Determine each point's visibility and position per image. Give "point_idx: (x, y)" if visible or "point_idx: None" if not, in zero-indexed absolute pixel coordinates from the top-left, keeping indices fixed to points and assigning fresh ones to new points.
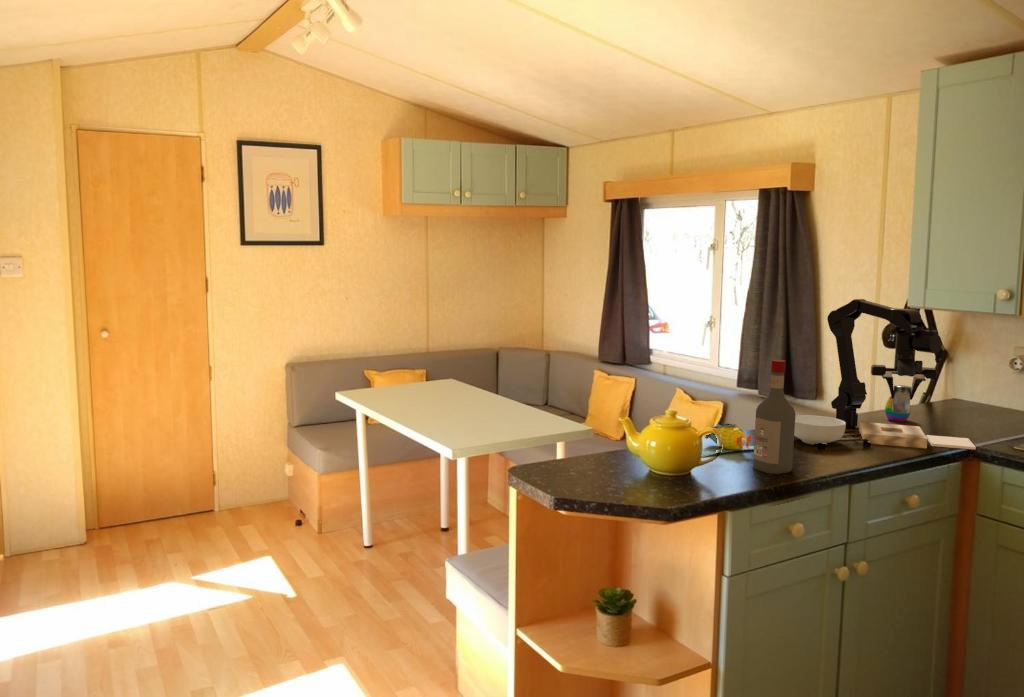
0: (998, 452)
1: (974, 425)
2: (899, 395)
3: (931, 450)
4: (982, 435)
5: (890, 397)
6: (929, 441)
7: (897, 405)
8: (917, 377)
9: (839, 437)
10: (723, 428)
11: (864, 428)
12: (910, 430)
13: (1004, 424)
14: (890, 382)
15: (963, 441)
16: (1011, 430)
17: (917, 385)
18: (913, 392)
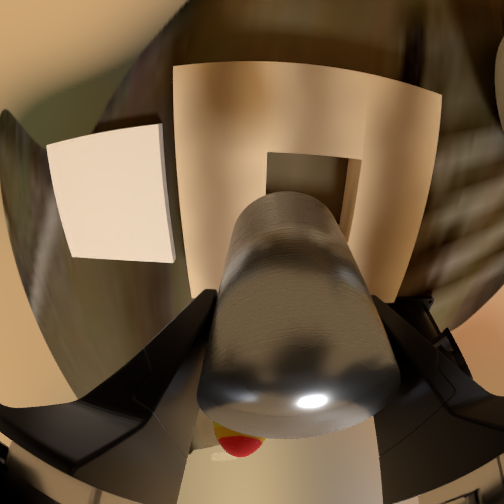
0: (17, 144)
1: (105, 379)
2: (343, 271)
3: (173, 48)
4: (69, 315)
5: (259, 444)
6: (165, 186)
7: (330, 223)
8: (82, 497)
9: (500, 42)
10: None
11: (419, 195)
12: (229, 215)
13: (76, 382)
14: (468, 401)
15: (74, 209)
16: (54, 353)
17: (109, 389)
18: (180, 329)
